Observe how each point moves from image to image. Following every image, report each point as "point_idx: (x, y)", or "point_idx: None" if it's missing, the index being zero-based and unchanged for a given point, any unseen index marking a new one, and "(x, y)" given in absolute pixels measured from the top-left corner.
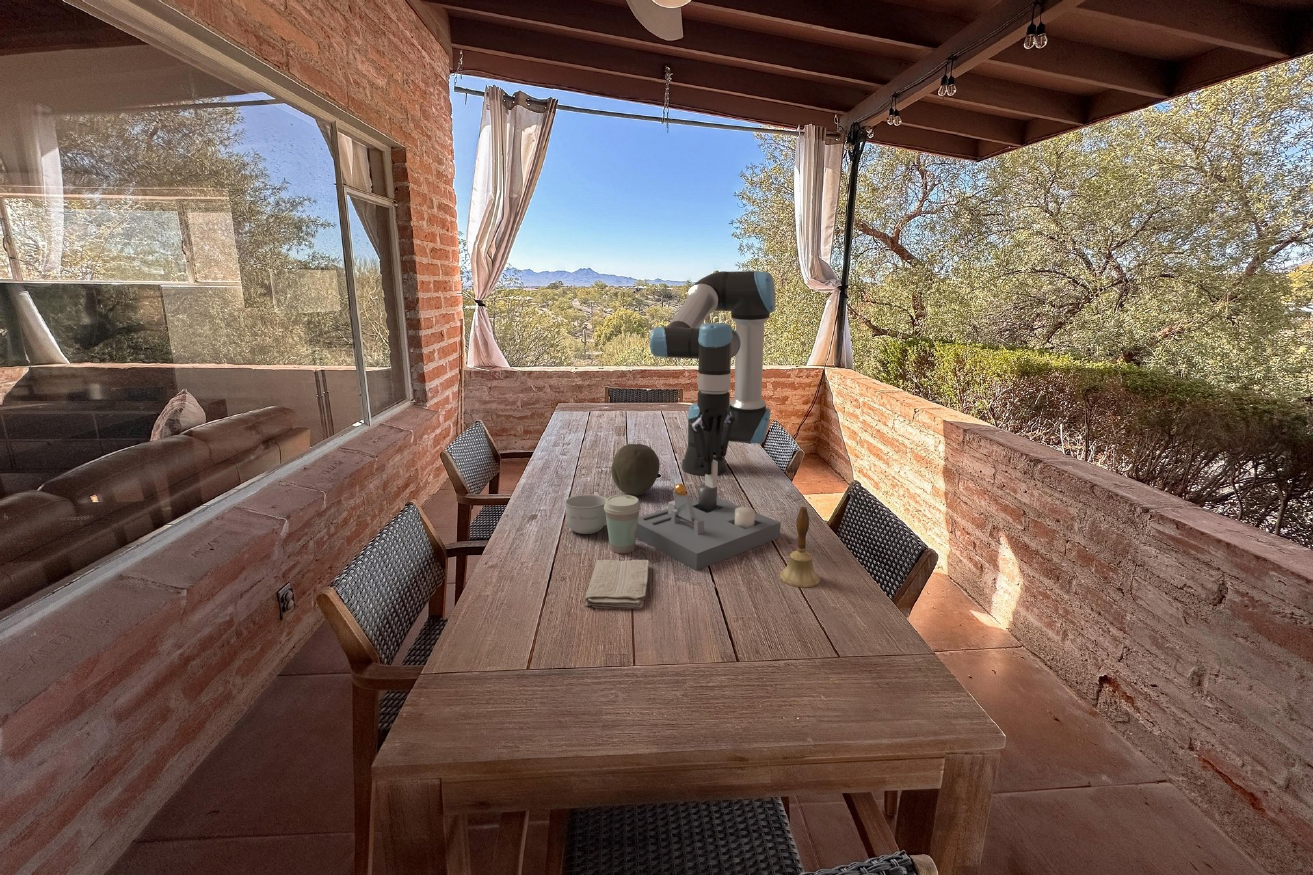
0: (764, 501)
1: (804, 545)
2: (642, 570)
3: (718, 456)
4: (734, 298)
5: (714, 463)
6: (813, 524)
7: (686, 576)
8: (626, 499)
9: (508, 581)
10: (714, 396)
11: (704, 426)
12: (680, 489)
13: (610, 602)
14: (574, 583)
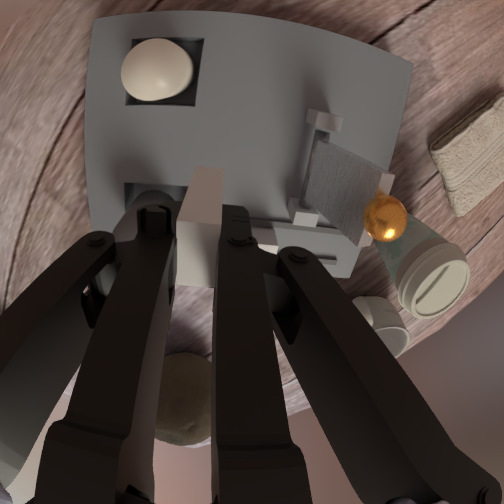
0: (5, 195)
1: None
2: (472, 133)
3: (160, 241)
4: None
5: (211, 218)
6: (15, 48)
7: (418, 70)
8: (432, 291)
9: (496, 257)
10: None
11: None
12: (405, 209)
13: None
14: (490, 202)
